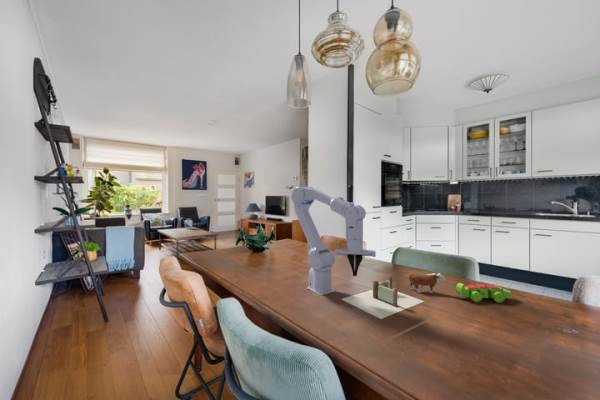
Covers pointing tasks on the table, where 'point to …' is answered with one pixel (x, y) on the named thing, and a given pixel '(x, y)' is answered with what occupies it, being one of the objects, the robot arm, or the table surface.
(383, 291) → the hinged panel
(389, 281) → the fixed fence
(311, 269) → the robot arm
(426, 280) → the bull figurine
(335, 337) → the table surface
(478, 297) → the toy crocodile
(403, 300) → the board
